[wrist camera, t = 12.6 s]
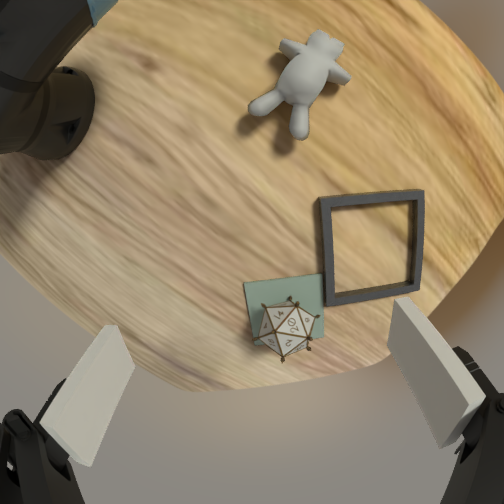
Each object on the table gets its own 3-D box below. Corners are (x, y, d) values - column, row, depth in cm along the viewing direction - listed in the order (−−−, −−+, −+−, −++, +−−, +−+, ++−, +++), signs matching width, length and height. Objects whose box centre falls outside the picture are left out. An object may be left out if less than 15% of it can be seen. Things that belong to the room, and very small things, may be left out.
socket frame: (324, 301, 40) (326, 306, 39) (318, 196, 36) (320, 198, 34) (415, 286, 39) (419, 290, 38) (419, 188, 34) (424, 190, 33)
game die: (271, 296, 44) (238, 297, 35) (324, 292, 40) (303, 292, 32) (274, 352, 43) (242, 366, 34) (327, 352, 39) (307, 369, 30)
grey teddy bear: (368, 51, 25) (315, 143, 28) (354, 65, 30) (305, 149, 33) (300, 12, 24) (238, 100, 27) (293, 31, 29) (238, 112, 32)
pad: (254, 343, 43) (254, 345, 43) (244, 282, 40) (243, 283, 39) (323, 335, 43) (324, 337, 42) (321, 273, 39) (322, 274, 39)
